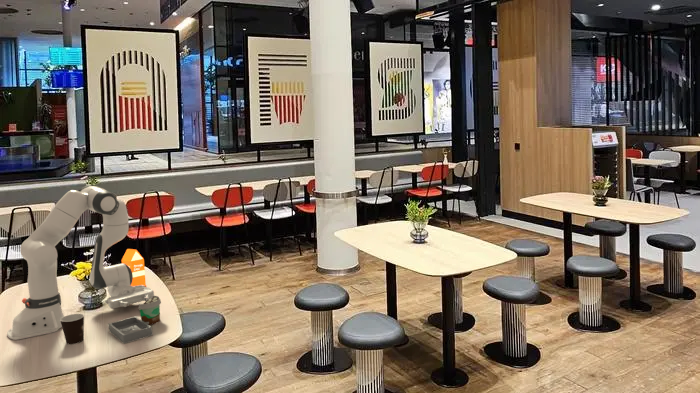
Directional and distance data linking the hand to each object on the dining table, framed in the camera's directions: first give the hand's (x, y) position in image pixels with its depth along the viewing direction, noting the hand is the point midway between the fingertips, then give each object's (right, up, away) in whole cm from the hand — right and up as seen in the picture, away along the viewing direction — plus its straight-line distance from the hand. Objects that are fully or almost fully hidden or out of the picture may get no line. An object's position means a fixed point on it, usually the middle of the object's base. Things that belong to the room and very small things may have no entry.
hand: (137, 302), depth 252 cm
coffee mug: (-15, -11, -26) cm, 31 cm away
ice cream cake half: (+11, -7, -10) cm, 17 cm away
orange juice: (-17, 0, +42) cm, 45 cm away
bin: (+6, -9, -22) cm, 24 cm away
